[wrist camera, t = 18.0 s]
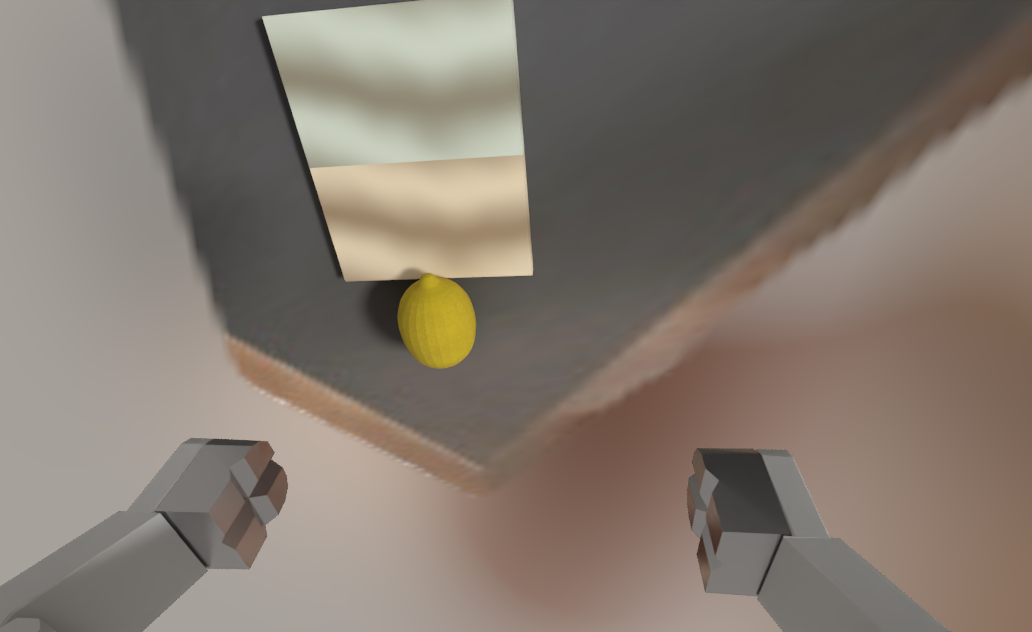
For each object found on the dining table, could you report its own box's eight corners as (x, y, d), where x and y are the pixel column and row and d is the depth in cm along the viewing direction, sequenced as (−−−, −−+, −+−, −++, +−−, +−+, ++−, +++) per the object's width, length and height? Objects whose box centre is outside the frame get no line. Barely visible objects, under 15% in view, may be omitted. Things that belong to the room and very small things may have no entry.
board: (270, 15, 29) (262, 16, 28) (512, -10, 27) (510, -9, 26) (350, 274, 38) (345, 281, 37) (533, 268, 36) (532, 275, 35)
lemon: (381, 267, 36) (406, 354, 40) (392, 303, 31) (418, 397, 36) (455, 248, 37) (471, 335, 41) (476, 281, 33) (491, 374, 37)
